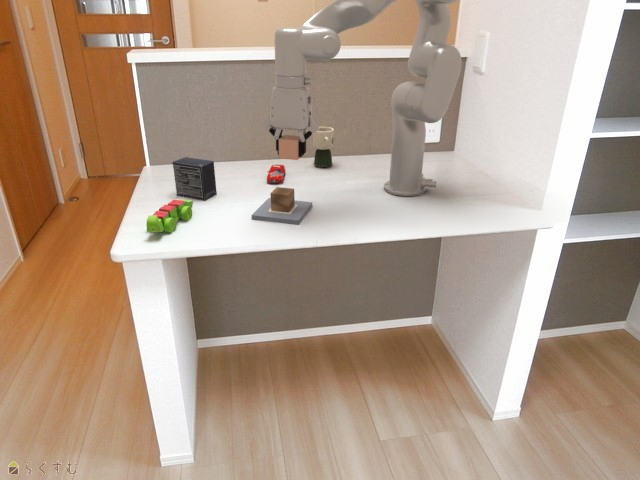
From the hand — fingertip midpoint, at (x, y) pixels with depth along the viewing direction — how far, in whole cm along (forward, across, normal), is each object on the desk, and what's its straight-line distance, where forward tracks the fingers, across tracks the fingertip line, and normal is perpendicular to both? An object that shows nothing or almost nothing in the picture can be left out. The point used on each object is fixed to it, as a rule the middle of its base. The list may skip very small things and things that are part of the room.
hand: (291, 154), depth 129 cm
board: (+16, +2, +1) cm, 16 cm away
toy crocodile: (+17, +28, +16) cm, 36 cm away
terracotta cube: (+1, 0, 0) cm, 1 cm away
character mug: (+16, +2, -42) cm, 45 cm away
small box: (+17, +31, -5) cm, 36 cm away
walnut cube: (+15, +2, +1) cm, 15 cm away
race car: (+17, +13, -26) cm, 33 cm away
